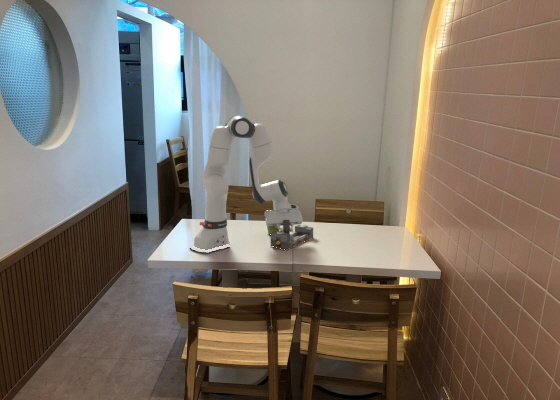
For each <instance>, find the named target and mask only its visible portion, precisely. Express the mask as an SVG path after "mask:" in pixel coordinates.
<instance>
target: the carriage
mask: <svg viewBox="0 0 560 400" xmlns="http://www.w3.org/2000/svg"><path fill="white" fill-rule="evenodd" d="M282 228H283V232H284V233H287V234H291V232H290V228H291V226H290V220H283V225H282ZM292 240H293V236H290V241H292Z"/></svg>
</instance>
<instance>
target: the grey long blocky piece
mask: <svg viewBox="0 0 560 400" xmlns="http://www.w3.org/2000/svg"><path fill="white" fill-rule="evenodd" d="M290 236H293V240H292V241H290ZM311 238H312V239H313V238H314V227H310V226H308V225H307V224H297V225H294V232H291V233H290V234H287V233H284V232H283V231H273V232H271V235H270V247H271V246H274V247H277V248H281V249H285V250H286V251H288V250H290V249H289V248H291V247H293V246H295V245H297V246H299V245H301V244H302V242H303V243H305V242H307V241H309V239H310V240H312V239H311ZM279 240H281V244H279V245H277V244H276V242H277V241H279ZM304 241H305V242H304ZM300 243H301V244H300ZM298 244H299V245H298ZM295 247H296V246H295ZM277 248H276V249H277ZM293 248H294V247H293ZM281 249H280V250H281ZM287 249H288V250H287ZM291 249H292V248H291ZM285 250H284V251H285Z"/></svg>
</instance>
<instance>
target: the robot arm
mask: <svg viewBox="0 0 560 400" xmlns="http://www.w3.org/2000/svg"><path fill="white" fill-rule="evenodd" d="M235 138H239V139H247V140H248V141H249V144H250V146H251V152H252V154H251V156H250V157H249V159H248V161H249V163H248V164H249V173H250V180H251V188H252V197H253V200H254V202H256V203H258V204H260V205H261V204H265V203H267V202H270V201H271V202H273V204H272V207H273V209H271V210H269V209H267V210H265V211H263V212H264V213H263V214H264V217H265V220H266V221H265V225H266V227H267V226H277V228H278V229H279V231H283V220H290V233H294V232H293V231H294V226H297V225H302V223H303V220H304V219H303V216H302V212H301V211H300V210H299V205H296V204H292V203H290V202H289V200H288V199H289V198H288V195H289V193H288V187H287V184H286V183H285V182H284V181H282V180H281V179H276V180H273V181H270V182H266V183H264V184H260V178H259V168H260V167H261V166H262V165H264V163H266V162H267V161H268V160H270V158H271V157H272V156H273V154H274V146H273V143H272V140H271V137H270V134H269V132H268V129H267V128H266V126H265V125H264V124H263V123H254V124H253V122H252V121H250V120H249V119H248V118H247V117H246V116H243V115H233V116H232V117H230V118H229V120H228V121H227V122H226V123H225V125H218V126H216V127H215V128H213V131H212V134H211V137H210V143H209V147H208V155H207V161H206V165H205V168H204V172H203V176H202V178H201V184H202V187H203V188H204V189H205V191H206V196H205V197H206V200H205V204H204V210H205V211H204V215H205V216H204V217H205V219H204V220H203V221H199V226H202V228H201V229H200V230H199V232H197V234H196V235H195V236H194V238H193V239H194V240H193V245H194V246H195V247H197V248H200V249H205V250H208V249H212V248H215V247H219V246H223V245H226V244H229V243H230V240H229V234H228V228H227V226H228V219H227V198H228V191H229V183H228V180H227V179H226V178H225V173H226V170H227V167H228V166H229V163H230V156H231V150H232V143H233V140H234V139H235Z"/></svg>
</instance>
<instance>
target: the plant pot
mask: <svg viewBox="0 0 560 400" xmlns="http://www.w3.org/2000/svg"><path fill="white" fill-rule="evenodd" d="M265 222H266V219H265ZM266 227H267V235H268V234H271V232H273V231H279V229H278V228H277V226H267V225H266Z"/></svg>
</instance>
